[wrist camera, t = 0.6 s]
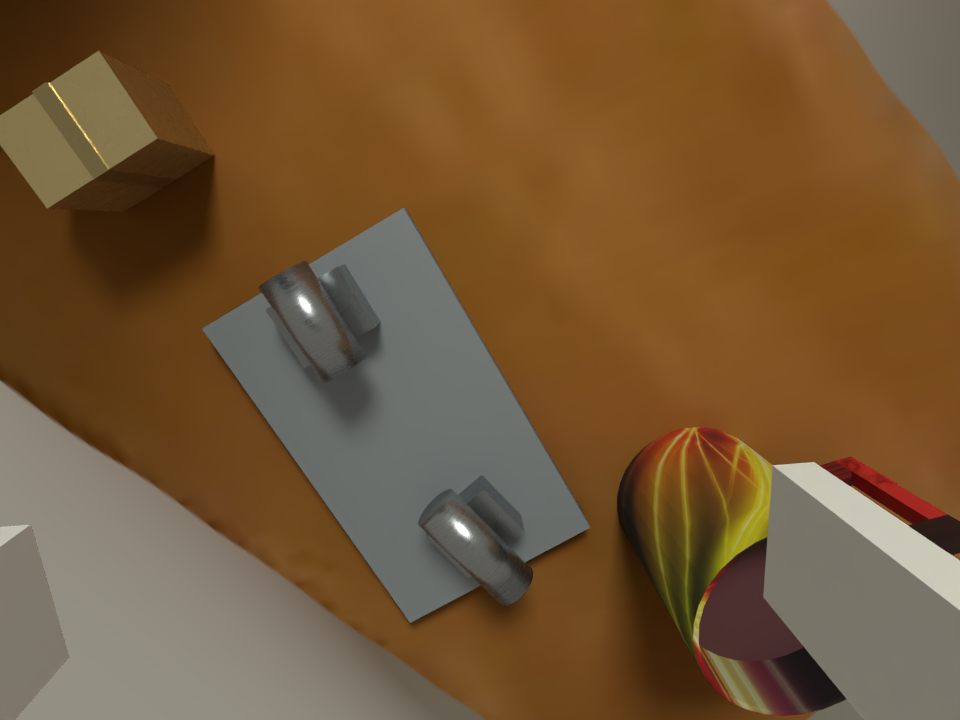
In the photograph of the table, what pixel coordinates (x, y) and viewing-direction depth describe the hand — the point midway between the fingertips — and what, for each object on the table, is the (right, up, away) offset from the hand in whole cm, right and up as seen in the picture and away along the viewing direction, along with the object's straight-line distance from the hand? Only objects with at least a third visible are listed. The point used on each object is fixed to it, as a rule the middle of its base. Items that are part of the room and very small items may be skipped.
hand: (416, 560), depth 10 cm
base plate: (-3, 0, +24) cm, 25 cm away
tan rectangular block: (-17, +15, +20) cm, 30 cm away
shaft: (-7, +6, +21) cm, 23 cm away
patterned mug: (+16, -4, +26) cm, 31 cm away
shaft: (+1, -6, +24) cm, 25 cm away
